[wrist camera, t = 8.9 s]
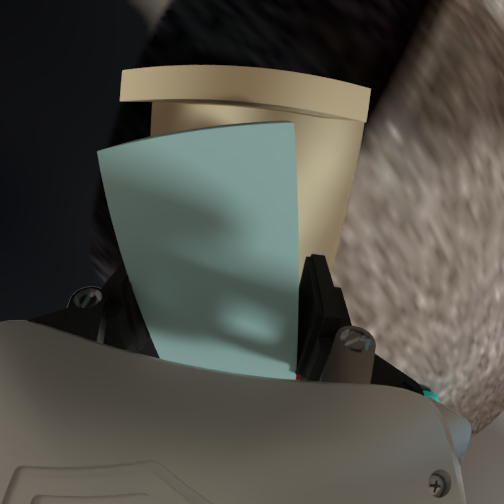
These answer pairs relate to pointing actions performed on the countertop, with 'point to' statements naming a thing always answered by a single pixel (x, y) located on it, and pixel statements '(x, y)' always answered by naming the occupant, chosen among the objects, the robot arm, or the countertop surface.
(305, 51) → the countertop surface
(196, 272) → the pale teal rectangular block
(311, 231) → the peg stand
